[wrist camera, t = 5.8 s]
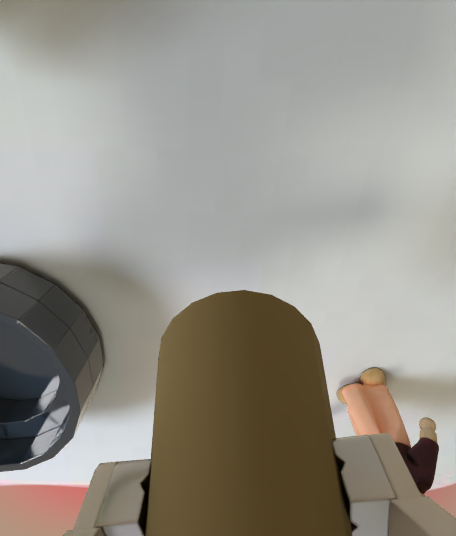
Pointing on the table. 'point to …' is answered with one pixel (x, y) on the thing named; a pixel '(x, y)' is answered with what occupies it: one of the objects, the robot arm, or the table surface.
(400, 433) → the grandmother figurine
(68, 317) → the bowl
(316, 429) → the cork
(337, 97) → the table surface
